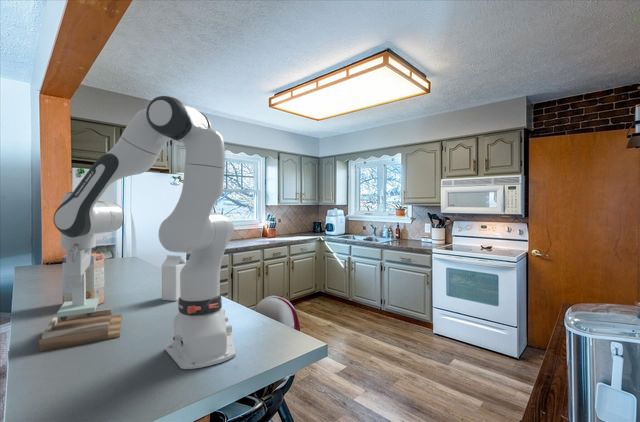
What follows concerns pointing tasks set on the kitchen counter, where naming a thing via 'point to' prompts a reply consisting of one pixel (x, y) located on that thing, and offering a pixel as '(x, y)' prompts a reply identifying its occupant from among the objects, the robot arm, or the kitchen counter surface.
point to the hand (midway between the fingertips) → (79, 285)
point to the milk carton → (171, 277)
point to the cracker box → (87, 279)
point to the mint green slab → (78, 302)
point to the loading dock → (80, 330)
